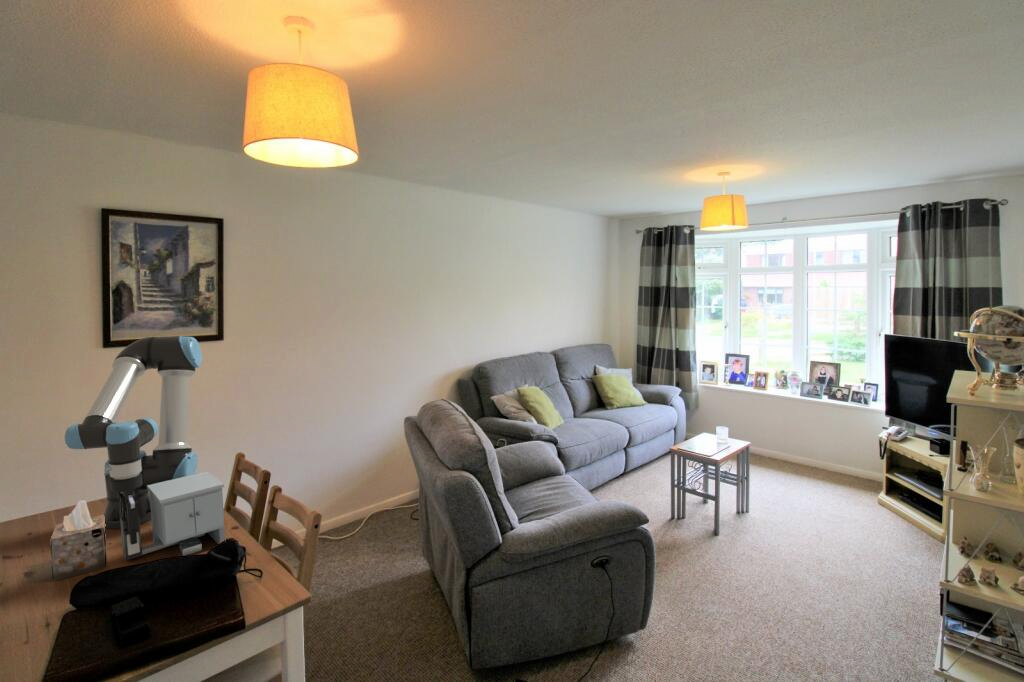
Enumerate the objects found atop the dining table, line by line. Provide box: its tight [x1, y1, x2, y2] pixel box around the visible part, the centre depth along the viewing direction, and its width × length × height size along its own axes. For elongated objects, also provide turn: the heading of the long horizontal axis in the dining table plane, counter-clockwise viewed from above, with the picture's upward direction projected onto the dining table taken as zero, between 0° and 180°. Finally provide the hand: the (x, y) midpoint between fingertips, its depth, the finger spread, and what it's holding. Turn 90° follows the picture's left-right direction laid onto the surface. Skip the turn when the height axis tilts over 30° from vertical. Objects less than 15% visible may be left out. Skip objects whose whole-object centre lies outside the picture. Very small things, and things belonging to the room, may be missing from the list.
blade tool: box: [120, 516, 206, 561], centre depth 158 cm, size 4×21×12 cm, turn 137°
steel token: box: [178, 537, 203, 557], centre depth 158 cm, size 5×5×2 cm
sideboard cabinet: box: [147, 471, 226, 545], centre depth 159 cm, size 17×17×20 cm
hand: (132, 550), depth 152 cm, fingers closed on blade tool, 4 cm apart
